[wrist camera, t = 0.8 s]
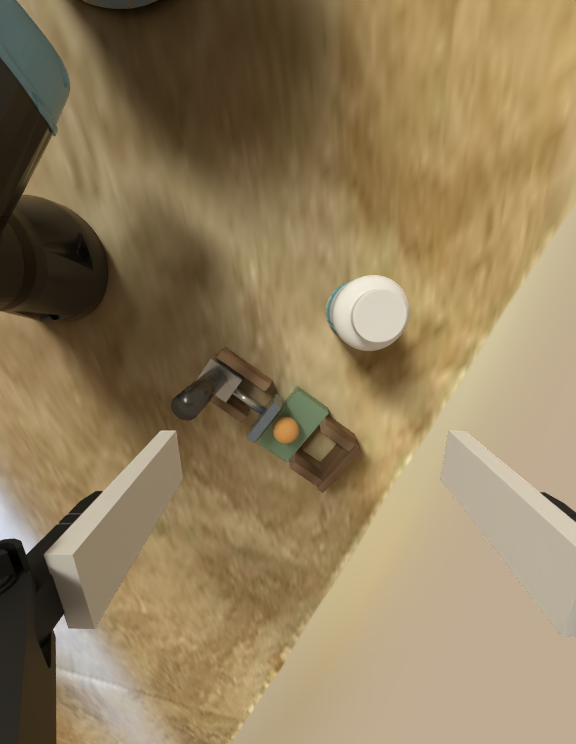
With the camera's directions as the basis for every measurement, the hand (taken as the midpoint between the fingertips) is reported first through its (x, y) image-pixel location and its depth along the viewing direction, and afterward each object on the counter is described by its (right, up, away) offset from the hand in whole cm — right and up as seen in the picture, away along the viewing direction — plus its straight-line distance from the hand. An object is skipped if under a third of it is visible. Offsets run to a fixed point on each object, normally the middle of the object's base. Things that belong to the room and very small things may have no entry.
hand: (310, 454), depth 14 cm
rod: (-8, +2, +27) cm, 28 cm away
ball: (-1, -4, +24) cm, 25 cm away
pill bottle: (+8, +12, +24) cm, 28 cm away
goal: (+4, -7, +29) cm, 30 cm away
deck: (0, -3, +28) cm, 28 cm away
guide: (-9, +2, +27) cm, 28 cm away
